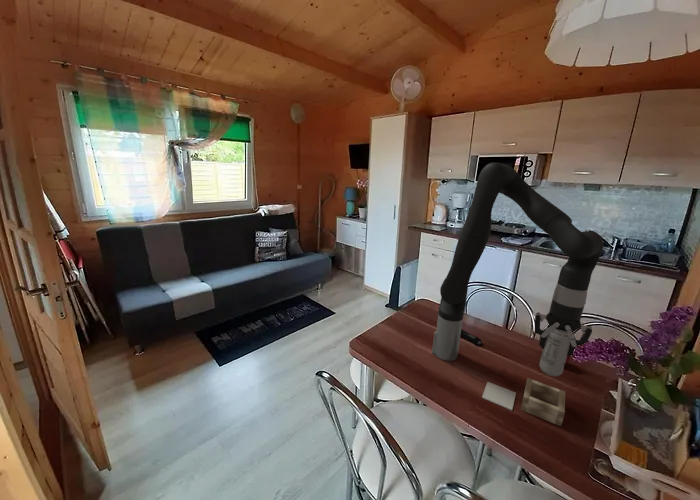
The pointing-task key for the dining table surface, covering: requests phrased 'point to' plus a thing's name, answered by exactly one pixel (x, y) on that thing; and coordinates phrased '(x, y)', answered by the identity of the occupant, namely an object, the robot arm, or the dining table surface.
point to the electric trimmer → (471, 338)
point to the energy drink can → (555, 352)
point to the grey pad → (499, 395)
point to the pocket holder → (541, 407)
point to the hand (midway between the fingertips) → (555, 351)
